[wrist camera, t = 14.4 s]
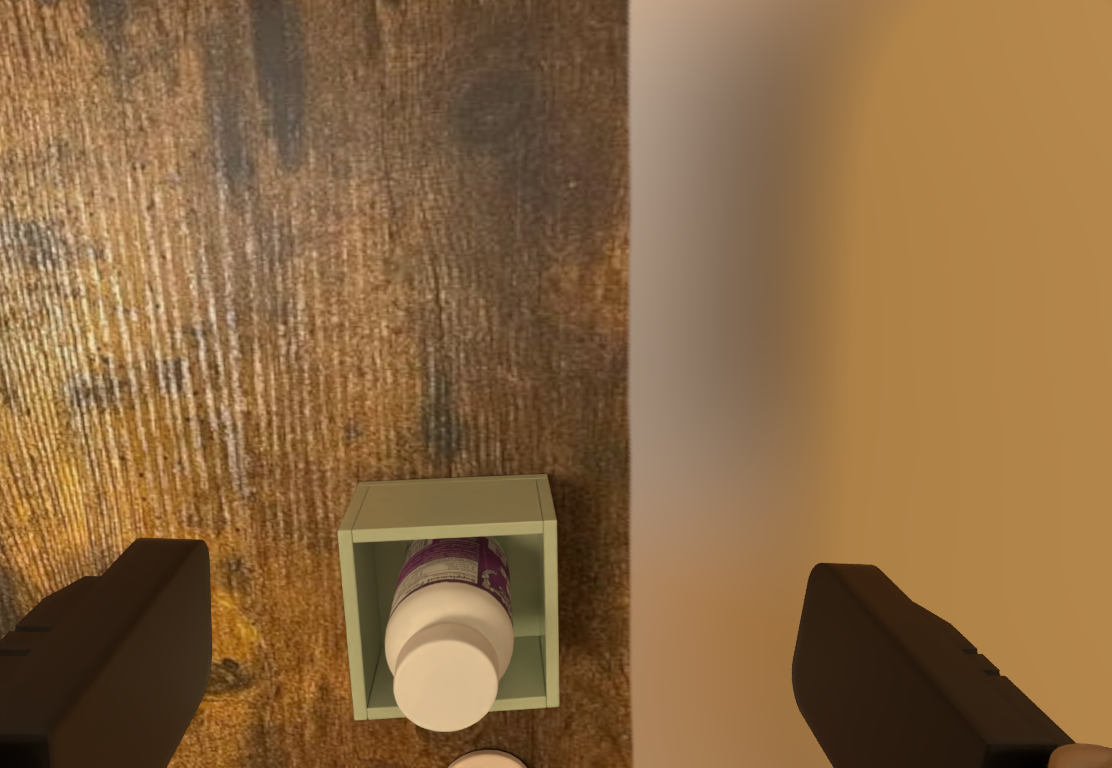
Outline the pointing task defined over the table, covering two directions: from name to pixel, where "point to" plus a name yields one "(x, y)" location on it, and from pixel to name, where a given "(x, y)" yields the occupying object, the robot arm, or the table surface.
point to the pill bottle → (450, 631)
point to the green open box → (451, 512)
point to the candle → (487, 760)
